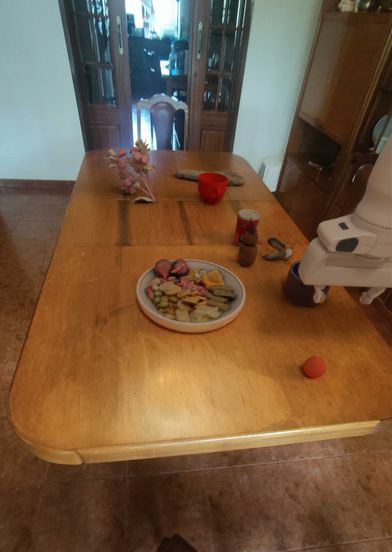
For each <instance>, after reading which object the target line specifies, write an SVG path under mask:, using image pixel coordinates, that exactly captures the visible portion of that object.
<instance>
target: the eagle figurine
mask: <svg viewBox="0 0 392 552" xmlns="http://www.w3.org/2000/svg"><path fill="white" fill-rule="evenodd" d="M266 242H267V244H268V246H270V247H271V248H273V249H275V250H277V251H276V252H270V253H266V254H264V255H263V256H262V257H263V259H264V260H266V261H271V260H281V259H283V258H284V257H285V258H286V260H287V261H289V260H290V257H291V258H292V254H293V253H294V252H295V251H294V250H293V247H294V243H292V244H291V246H290V248H287V246H286V244H285V243H283V242H282V241H280V240H279V238H277V237H269V238H267V240H266Z"/></svg>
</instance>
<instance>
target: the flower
mask: <svg viewBox="0 0 392 552" xmlns="http://www.w3.org/2000/svg"><path fill="white" fill-rule="evenodd" d="M146 143H147V140H143V138H140V139H136V141H135V143H134V146H132V147H130V148H129V149H128V152H129V153H127V151H126V149H125V148H124V147H123V148H119V150H118V152H116V151H115V150H114V149H111V148H110V149H109V150H108V153H106V154H107V157H104V156H103V157H102V158H103V159H105V160H107V161H108V162H106V164H107V165H108V164H109V165H108V167H109V168H110V169H116V167H117V168H118V169H117V170H118V171H117V178H118V179H119V180H121V181H120V184H121V186H122V187H120V190H121V191H123V190H124V191H125V193H127V194H128V193H129V194H132V195H134V194H135V193H136V192H137V189H140V190H141V191H142V192H143V193H144V194H145V195H146V196H137V197H136V198H135V199H133V201H132V204H134V203H135V202H137V201H145V202H152V203H153V202H154V203H157V204H158V201H157V200H156V199H155V196H154V191H153V186H152V182H151V179H150V175H149V172H150V171H152V172H153V174H155V173H156V172H155V170H156V171H159V169H158V167H157V166H156V165H155V164H154V163H150V162H151V158H150V154H149V152H151V151H150V150H151V149H152V147H149V145H150V144H149V143H147V144H146ZM127 154H129V155H130V156H129V157H128V156H126V155H127ZM124 156H125V157H126V158H125V159H124V158H123V157H124ZM127 164H128V166H129V167H131V168H132V169H133V172H134V173H135V174H139V175H140V176H138V177H137V179H136V181H135V175H134V174H133V173H132V172H129V171H128V169H126V168H127ZM144 175H145V176H146V177H145V176H144ZM146 179H147V180H146ZM141 181H143V182H144V185H145V186H146V188H147V190H148V191H147V190H145V189H144V188H143V187H141V186H140V185H141ZM147 196H148V197H147Z"/></svg>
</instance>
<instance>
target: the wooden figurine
mask: <svg viewBox="0 0 392 552" xmlns="http://www.w3.org/2000/svg"><path fill="white" fill-rule="evenodd" d="M258 239H259V233H258V231H257V232H256V230H255V226H254V221H253V222H252V218H251V219H250V224H249V228H248V231H246V232H245V234H244V237H243V242H242V243H241V245H240V247H238V248H239V249H238V263H239V264H240V265H241V266H242V267H245V268H248V267H251V266H253V264H254V263H255V261H256V259H257V256H258V255H257V254H258V246H257V243H258V241H259V240H258Z"/></svg>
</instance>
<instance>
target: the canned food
mask: <svg viewBox="0 0 392 552" xmlns="http://www.w3.org/2000/svg"><path fill="white" fill-rule="evenodd" d="M251 218H252V222H253V221H254V226H255V230H256V232H257V233H258V228H259V224H260V218H261V214H260V212H259V211H257V210H255V209H251V208H250V209H249V208H243V209H240V210H239V211H238V212H237V220H236V224H235V230H234V236H233V237H234V238H233V243H234V245H235V246H237V245H238V246H237V247H238V248H240V245H241V243H242V242H243V237H244V234H245V232H246V231H248V228H249V224H250V219H251Z"/></svg>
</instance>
